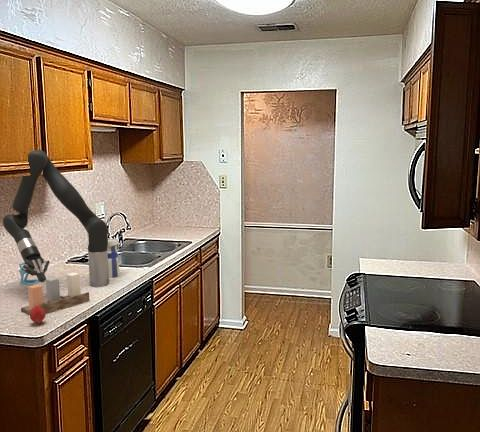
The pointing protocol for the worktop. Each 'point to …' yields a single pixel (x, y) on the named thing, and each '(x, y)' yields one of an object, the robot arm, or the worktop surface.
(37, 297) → the orange block
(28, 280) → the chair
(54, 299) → the grey rectangular block
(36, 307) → the onion
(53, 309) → the wooden divided tray
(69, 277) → the cream rectangular block
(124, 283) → the worktop surface
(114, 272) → the water bottle
